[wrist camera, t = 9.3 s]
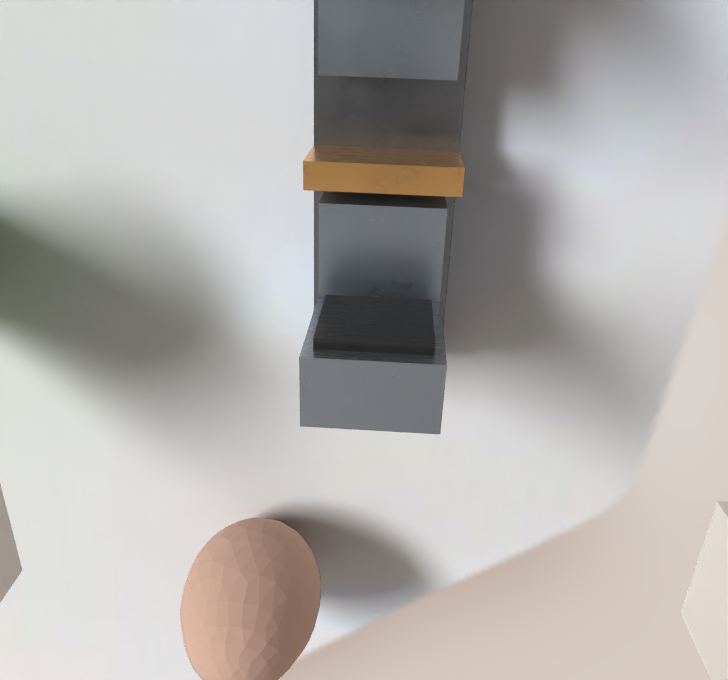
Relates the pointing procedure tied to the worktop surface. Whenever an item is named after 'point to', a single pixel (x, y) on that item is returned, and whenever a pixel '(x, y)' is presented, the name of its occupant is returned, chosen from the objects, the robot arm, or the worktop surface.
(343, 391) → the l-shaped step block
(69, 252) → the worktop surface
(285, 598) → the egg
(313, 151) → the rail
